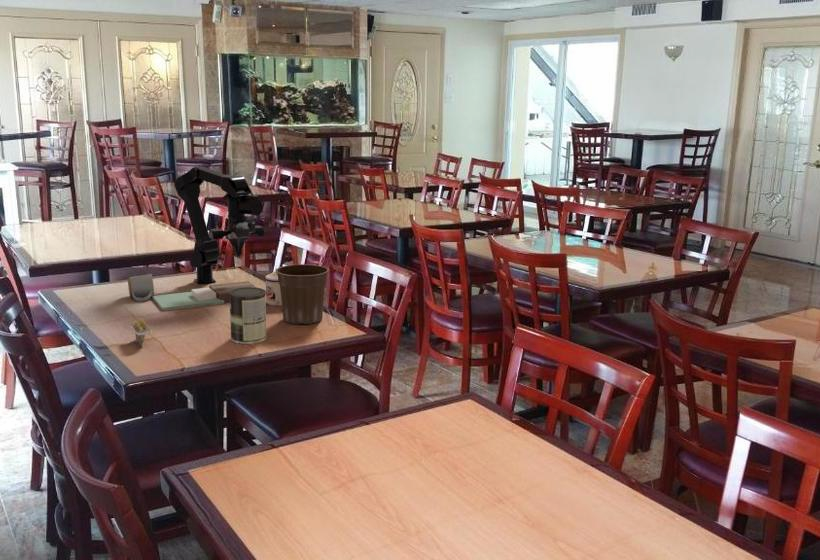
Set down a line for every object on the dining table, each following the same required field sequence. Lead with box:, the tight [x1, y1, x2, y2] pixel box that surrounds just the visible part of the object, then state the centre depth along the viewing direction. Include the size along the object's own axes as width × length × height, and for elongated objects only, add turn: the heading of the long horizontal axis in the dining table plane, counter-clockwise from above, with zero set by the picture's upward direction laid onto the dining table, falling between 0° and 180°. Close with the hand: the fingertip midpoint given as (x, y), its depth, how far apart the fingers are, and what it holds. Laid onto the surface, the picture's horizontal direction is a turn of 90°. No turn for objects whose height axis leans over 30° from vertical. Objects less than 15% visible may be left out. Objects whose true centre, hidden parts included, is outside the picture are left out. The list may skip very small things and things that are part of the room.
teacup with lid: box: [264, 270, 282, 307], centre depth 260 cm, size 12×9×12 cm
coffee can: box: [229, 286, 268, 345], centre depth 223 cm, size 10×10×14 cm
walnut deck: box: [208, 280, 258, 303], centre depth 269 cm, size 13×14×3 cm
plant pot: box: [275, 263, 330, 325], centre depth 242 cm, size 16×16×16 cm
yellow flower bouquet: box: [130, 318, 152, 348], centre depth 218 cm, size 12×18×7 cm, turn 30°
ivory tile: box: [190, 287, 216, 301], centre depth 263 cm, size 8×6×2 cm
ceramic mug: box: [127, 273, 155, 302], centre depth 264 cm, size 11×8×8 cm
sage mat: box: [151, 291, 225, 312], centre depth 262 cm, size 16×20×1 cm
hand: (237, 256), depth 275 cm, fingers closed
